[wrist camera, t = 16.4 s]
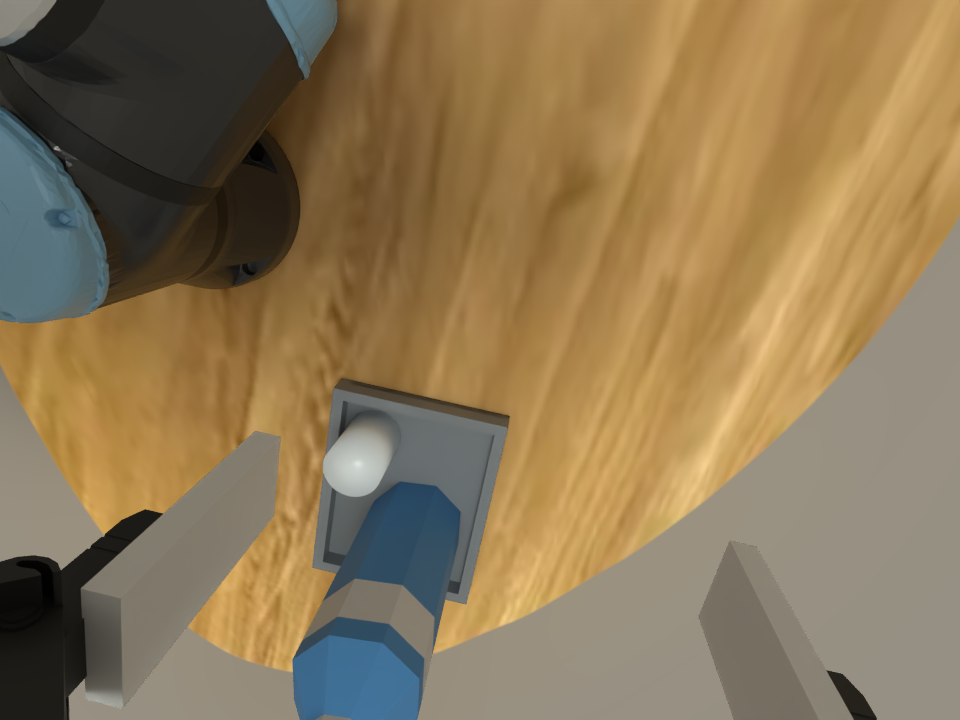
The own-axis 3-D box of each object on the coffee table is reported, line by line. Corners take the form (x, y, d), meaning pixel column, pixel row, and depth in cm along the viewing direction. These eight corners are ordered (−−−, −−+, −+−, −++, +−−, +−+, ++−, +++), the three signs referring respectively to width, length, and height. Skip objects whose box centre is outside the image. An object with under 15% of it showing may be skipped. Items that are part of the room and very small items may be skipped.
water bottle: (356, 492, 57) (222, 722, 33) (445, 470, 55) (369, 698, 31) (390, 569, 59) (287, 834, 36) (475, 551, 57) (426, 817, 34)
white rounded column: (346, 451, 55) (319, 489, 49) (353, 404, 54) (326, 437, 47) (397, 462, 55) (376, 502, 48) (405, 416, 53) (385, 451, 47)
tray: (321, 552, 60) (312, 567, 58) (342, 378, 54) (333, 388, 51) (469, 587, 60) (466, 604, 57) (509, 416, 53) (507, 427, 51)
